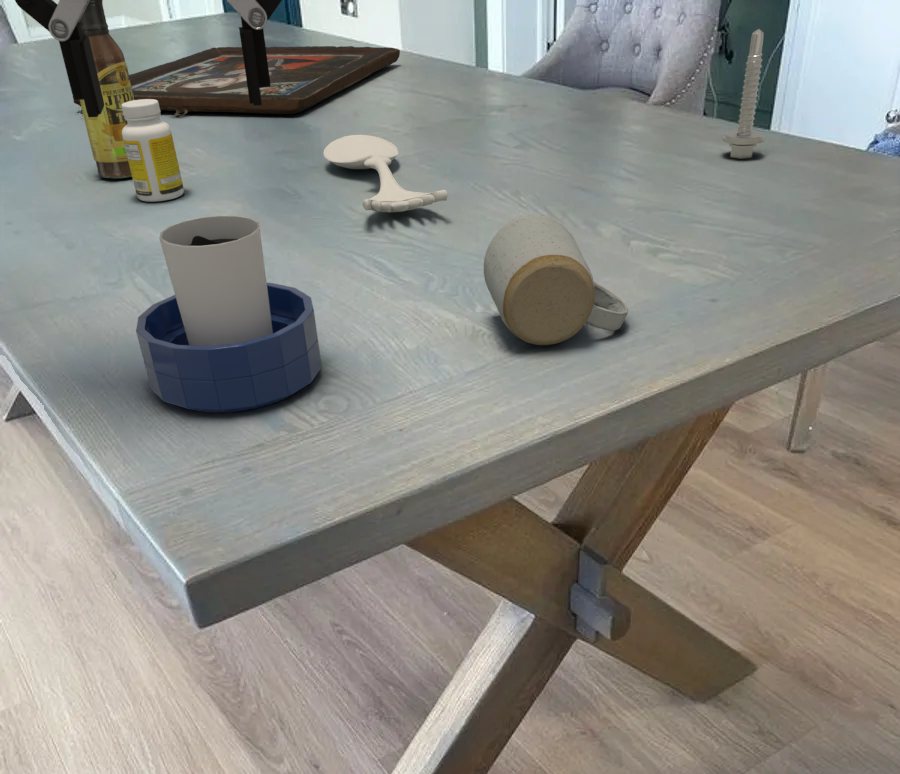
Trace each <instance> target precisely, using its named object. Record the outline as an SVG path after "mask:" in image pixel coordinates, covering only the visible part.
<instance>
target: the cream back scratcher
mask: <svg viewBox="0 0 900 774" xmlns="http://www.w3.org/2000/svg"><path fill="white" fill-rule="evenodd" d="M398 154H399V149H398V147H397V146H396V145H395V144H393V142H391V141H389V140H386V139H384V138H382V137H378V136H375V135H370V134H369V135H368V134H350V135H345V136H341V137H339V138H337V139H334V140H332V141H331V142H329V143H328V144H327V145H326V146H325V148H324V149H323V157H324V158H325V159H326V160H327V161H328V162H329V163H332V164H333V165H336V166H338V167H341V168H345V169H349V170H369V169H374V170H376V171H377V173H378V175H379V181H380V182H379V183H380V184H379V185H380V188H379V191H378V193H376V194H375V195H374V196H372V197H370V198H366V199H365V198H364V199H363V202H362V206H363V209H364V210H365V211H373V212H380V213H401V212H406V211H412V210H416V209H419V208H420V209H421V208H422V207H426V206H431V205H433V204H436V203H439V202H445V201H448V196H449V195H448V191H447V190H446V189H440V190H436V191H433V192H423V191H421V192H420V191H419V192H418V191H410V190H407V189H405V188H403V187H402V186H401V185H400V184H399V183H398V182H397V180H396V178H395V177H394V175H393V173H392V171H391V169H390V168H389V166H390V165H391V164H392V161H393V160H394V159H396V157H397V156H398Z"/></svg>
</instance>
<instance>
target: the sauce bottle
mask: <svg viewBox="0 0 900 774" xmlns="http://www.w3.org/2000/svg"><path fill="white" fill-rule="evenodd" d="M79 23H80V24H81V28H82V32H83V33H85V36H88V37H89V40H90V45H91V49H92V53H93V57H94V62H95V66H96V70H97V75H98V79H99V83H100V88H101V92H102V96H103V101H104V108H103V110H102V112H101V114H99V115H98V117H88V114H87V111H86V106H85V102H84V100H80V103H81V107H80V108H81V111H82V115H83V116H82V117H83V120H84V124H85V127H86V128H85V129H86V132H87V137H88V141H89V145H90V149H91V152H92V157H93V160H94V161H95V164H96V170H97V173H98V175H99V177H101V178H103V179H104V178H105V179H126V178H132V174H131V170H130V166H129V162H128V158H127V154H126V150H125V146H124V142H123V138H122V130H123V128H124V127H125V126H126V125H127V124H128V122H127V120H126V119H125V118H124V115H123V111H122V106H121V105H122V104H123V103H125V102H128V101H133V100H134V97H133V92H132V88H131V83H130V78H129V75H130V73H129V69H128V63H127V62H126V58H125V55H124V52H123V49H121V47H120V46H119V44H118V43H117V42H116V40H114V38H113V37H112V36H111V35H110V30H109V26H108V23H107V19H106V15H105V9H104V4H103V0H90V1H89V3H88V5H87V7H86V9H85V11H84V13H83V15H82V17H81V20H80V22H79Z"/></svg>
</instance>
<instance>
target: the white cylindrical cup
mask: <svg viewBox="0 0 900 774" xmlns="http://www.w3.org/2000/svg"><path fill="white" fill-rule="evenodd" d="M260 226H261V225H260V222H259V221H257V220H255V219H253V218H252V217H247V216H242V215H229V214H227V215H225V214H224V215H223V214H221V215H209V216H200V217H196V218H191V219H187V220H183V221H180V222H177V223H175V224H172V225H169V226H167V227H166V228H165V229H163V230H162V231H161V232H160V233H159V238H158V239H159V242H160V246H161V249H162V250H161V251H162V254H163V256H164V260H165V264H166V268H167V271H168V275H169V278H170V281H171V285H172V289H173V292H174V295H175V296H176V300H177V303H178V307H179V310H180V314H181V318H182V321H183V325H184V328H185V332H186V335H187V339H188V342H189V345H193V346H216V345H224V344H232V343H240V342H246V341H249V340H253V339H256V338H260V337H263V336H267V335H270V334H273V330H272V322H271V314H270V306H269V298H268V290H267V283H268V282H267V276H266V267H265V259H264V251H263V243H262V236H261V235H262V234H261V227H260Z"/></svg>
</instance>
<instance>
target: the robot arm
mask: <svg viewBox="0 0 900 774" xmlns="http://www.w3.org/2000/svg"><path fill="white" fill-rule="evenodd" d="M89 1H90V0H59V1H58V3H56V2H55V0H14V2H15V4H16V5H17V6H18V7H19V8H20V9H21V10H23V12H25V13H26V14H27V15H28V16H30V17H31V18H32V19H33V20H34V21H36V22H37V23H38V24H39V25H40V26H41V27H43V28H44V29H45V30H47V31H48V32H49V34H50V36H51V37H52V38H53V39H54V40H56V41H58V43H59V47H60V51H61V55H62V58H63V63H64V68H65V71H66V75H67V79H68V83H69V87H70V91H71V94H72V99H73V98H74V100H84V102H85V106H86V111H87V114H88V117H98V115H99V114H101V112H102V110H103V108H104V101H103V96H102V92H101V88H100V83H99V79H98V75H97V70H96V66H95V62H94V57H93V53H92V49H91V45H90V40H89V37H88V36H85V33H83V32H82V28H81V24H80V23H79V22H80V20H81V17H82V15H83V13H84V11H85V9H86V7H87V5H88V3H89ZM226 1H227V3H228V4H229V5H230V6H231V7H232V8H233V9H234V10H235V12H236V13H237V14H238V15H239V16H240V21H241V26H239V27H238V31H239V38H240V43H241V47H242V52H243V59H244V66H245V73H246V80H247V87H248V94H249V100H250V104H253V105H254V106H260V105H262V102H261V95H260V88H262V87H271V85H270V77H269V69H268V61H267V54H266V47H267V46H266V39H265V31H264V28H265V27H266V25H267V23H268V21H269V19H270V18H271V17H272V15H273V14H274V12H276V9H277V8H278V6H279V5H280V4H281V2H282V1H283V0H226ZM74 100H73V101H74Z"/></svg>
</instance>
